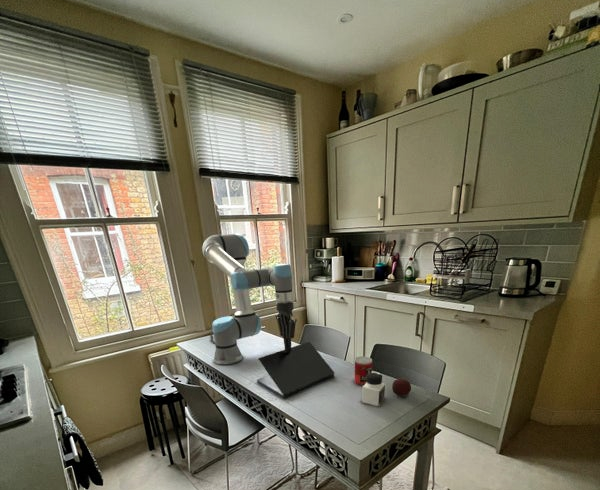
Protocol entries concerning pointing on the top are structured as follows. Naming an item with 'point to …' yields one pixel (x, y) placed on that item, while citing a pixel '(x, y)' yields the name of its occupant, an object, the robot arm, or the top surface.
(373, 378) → the medicine bottle
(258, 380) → the laptop
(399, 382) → the red apple
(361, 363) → the canned food
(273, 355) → the laptop screen
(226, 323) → the robot arm
